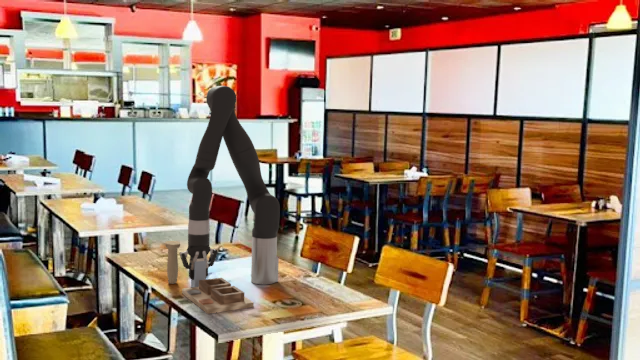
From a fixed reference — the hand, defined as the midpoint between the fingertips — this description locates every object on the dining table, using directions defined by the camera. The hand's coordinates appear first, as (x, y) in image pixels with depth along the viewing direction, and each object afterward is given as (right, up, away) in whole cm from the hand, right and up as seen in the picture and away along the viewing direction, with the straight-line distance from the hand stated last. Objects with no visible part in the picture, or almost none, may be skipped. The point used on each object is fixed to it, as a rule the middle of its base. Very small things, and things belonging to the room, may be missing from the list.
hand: (198, 278), depth 233 cm
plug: (0, -3, 0) cm, 3 cm away
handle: (-10, -3, +5) cm, 12 cm away
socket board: (+9, -5, -13) cm, 16 cm away
